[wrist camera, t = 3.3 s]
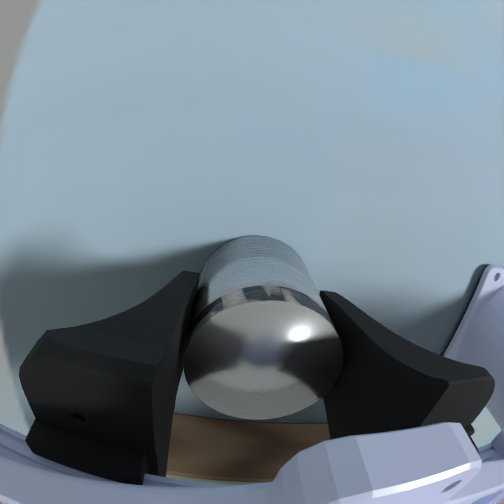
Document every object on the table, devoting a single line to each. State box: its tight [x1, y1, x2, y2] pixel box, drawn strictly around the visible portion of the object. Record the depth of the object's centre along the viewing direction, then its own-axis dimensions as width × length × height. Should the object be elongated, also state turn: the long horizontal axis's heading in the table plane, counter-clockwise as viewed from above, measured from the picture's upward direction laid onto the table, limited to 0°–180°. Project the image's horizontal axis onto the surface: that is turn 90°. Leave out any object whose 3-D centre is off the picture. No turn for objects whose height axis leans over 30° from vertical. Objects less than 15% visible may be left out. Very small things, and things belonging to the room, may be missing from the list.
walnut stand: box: [166, 413, 330, 485], centre depth 17 cm, size 11×14×4 cm
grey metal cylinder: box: [184, 236, 344, 420], centre depth 11 cm, size 4×4×5 cm
